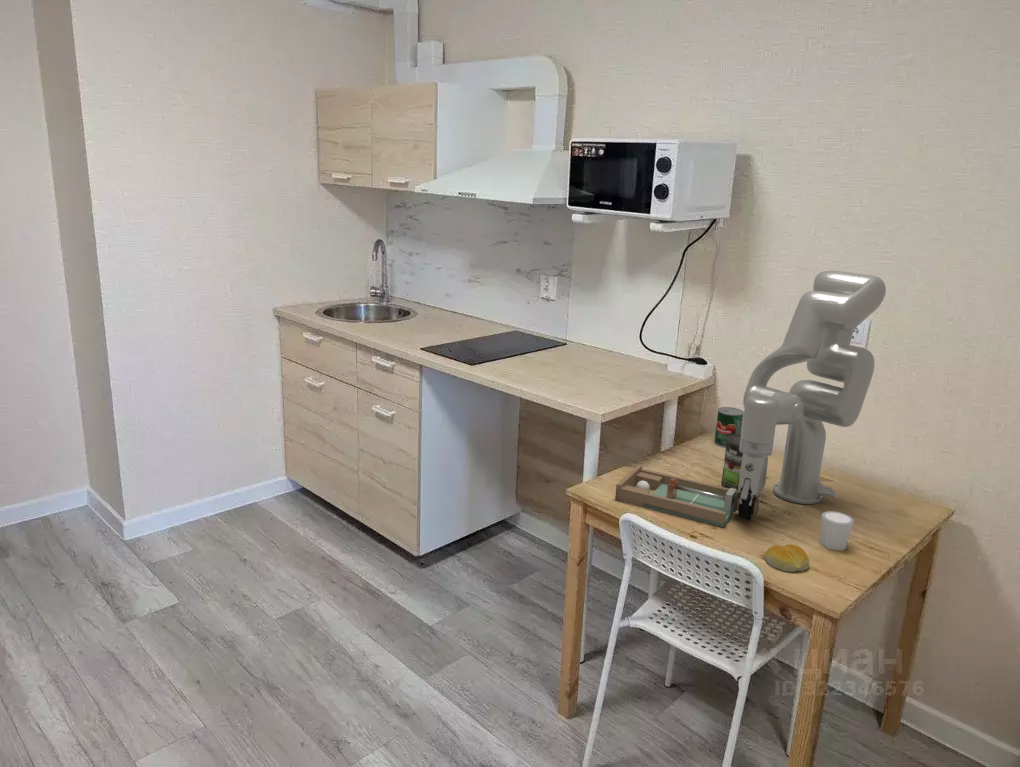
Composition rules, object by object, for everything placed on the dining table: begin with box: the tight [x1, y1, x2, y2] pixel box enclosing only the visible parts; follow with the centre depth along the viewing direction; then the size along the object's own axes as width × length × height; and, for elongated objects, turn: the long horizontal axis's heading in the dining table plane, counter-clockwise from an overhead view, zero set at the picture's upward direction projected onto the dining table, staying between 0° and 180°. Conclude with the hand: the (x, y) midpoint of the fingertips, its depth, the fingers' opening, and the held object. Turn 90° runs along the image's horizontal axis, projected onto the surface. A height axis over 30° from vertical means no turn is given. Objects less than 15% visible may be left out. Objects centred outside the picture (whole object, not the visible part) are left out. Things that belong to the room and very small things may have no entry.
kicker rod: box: [667, 478, 761, 516], centre depth 187 cm, size 22×5×4 cm, turn 60°
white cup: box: [819, 510, 855, 551], centre depth 172 cm, size 7×7×7 cm
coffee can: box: [720, 434, 743, 491], centre depth 200 cm, size 10×10×14 cm
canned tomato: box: [714, 406, 744, 448], centre depth 234 cm, size 8×8×11 cm
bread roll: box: [765, 544, 810, 573], centre depth 163 cm, size 8×9×4 cm
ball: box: [635, 481, 650, 491], centre depth 196 cm, size 4×4×4 cm
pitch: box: [614, 464, 739, 529], centre depth 191 cm, size 28×16×6 cm, turn 60°
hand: (746, 514), depth 184 cm, fingers open, 4 cm apart
